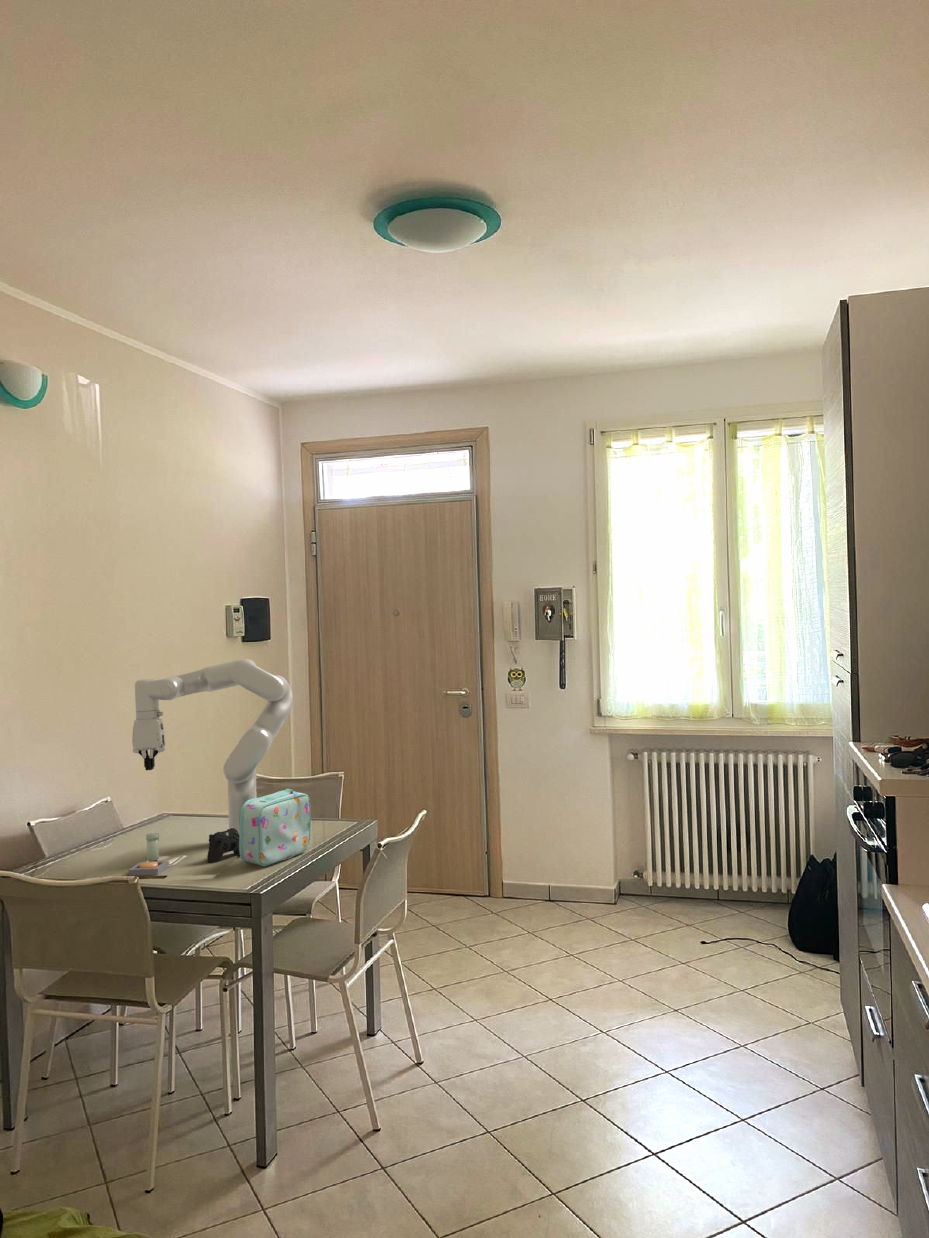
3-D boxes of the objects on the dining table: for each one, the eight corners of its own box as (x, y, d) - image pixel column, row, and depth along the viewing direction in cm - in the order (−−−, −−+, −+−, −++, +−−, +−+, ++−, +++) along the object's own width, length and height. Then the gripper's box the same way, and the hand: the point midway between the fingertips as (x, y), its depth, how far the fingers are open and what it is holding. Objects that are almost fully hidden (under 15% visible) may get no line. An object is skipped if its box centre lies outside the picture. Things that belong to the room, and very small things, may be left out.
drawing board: (191, 857, 304) (191, 854, 304) (164, 878, 280) (163, 874, 280) (152, 858, 304) (152, 855, 304) (121, 879, 280) (121, 875, 280)
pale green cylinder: (160, 860, 297) (159, 832, 297) (158, 864, 293) (157, 835, 293) (147, 861, 296) (147, 833, 296) (145, 864, 292) (145, 836, 292)
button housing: (169, 866, 289) (168, 861, 289) (158, 874, 280) (157, 868, 280) (140, 867, 290) (140, 861, 290) (128, 875, 281) (128, 869, 281)
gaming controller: (216, 867, 290) (215, 835, 290) (202, 865, 294) (201, 833, 294) (249, 857, 302) (248, 826, 302) (235, 855, 306) (234, 824, 306)
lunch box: (290, 847, 313) (288, 783, 313) (315, 850, 308) (313, 785, 308) (236, 867, 289) (233, 798, 289) (262, 870, 285) (259, 800, 285)
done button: (160, 867, 288) (160, 861, 288) (154, 871, 282) (153, 865, 282) (144, 867, 288) (143, 861, 288) (137, 871, 283) (137, 866, 283)
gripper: (173, 713, 321) (175, 767, 321) (130, 715, 322) (132, 768, 322) (165, 716, 314) (167, 770, 314) (121, 717, 314) (123, 772, 314)
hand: (149, 769), depth 318 cm, fingers closed
